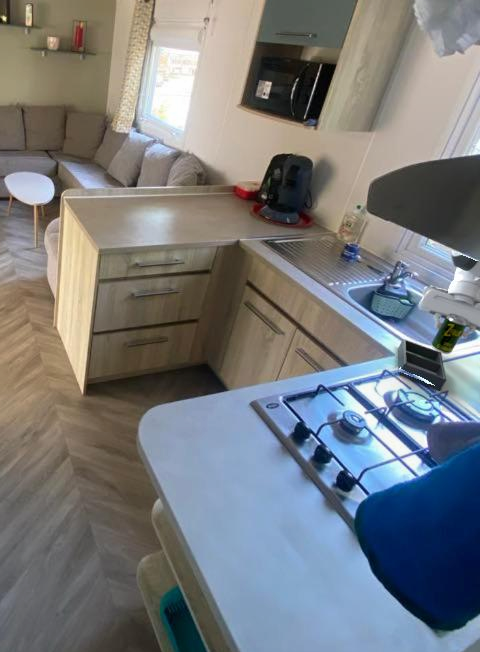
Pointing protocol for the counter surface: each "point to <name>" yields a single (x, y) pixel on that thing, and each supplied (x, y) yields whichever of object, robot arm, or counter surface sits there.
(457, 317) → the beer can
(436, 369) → the caddy
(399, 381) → the counter surface
